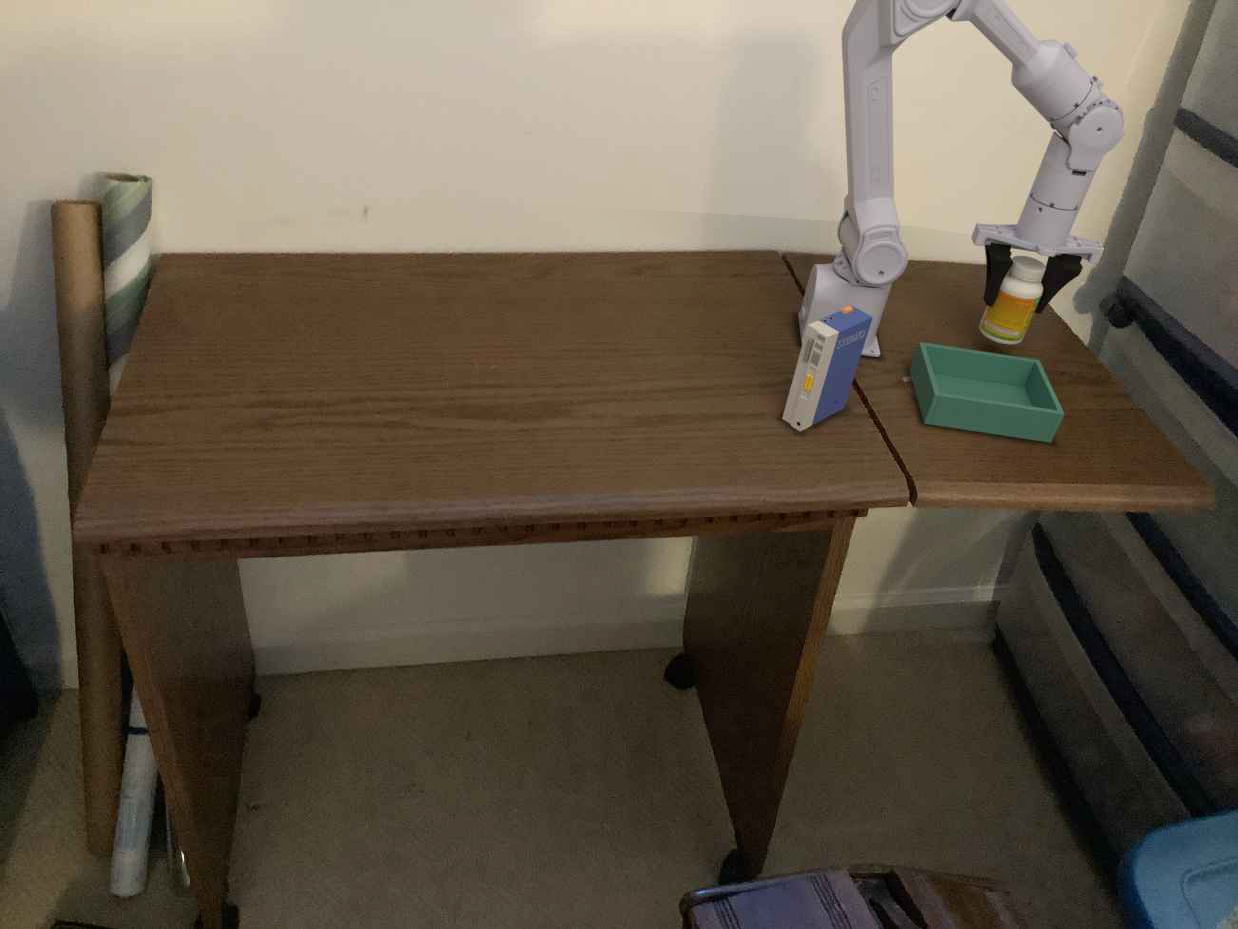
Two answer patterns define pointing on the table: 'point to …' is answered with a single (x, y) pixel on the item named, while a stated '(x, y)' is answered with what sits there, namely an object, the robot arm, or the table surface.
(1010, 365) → the tray
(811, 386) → the walkman
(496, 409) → the table surface
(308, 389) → the table surface
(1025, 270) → the supplement bottle
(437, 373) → the table surface
